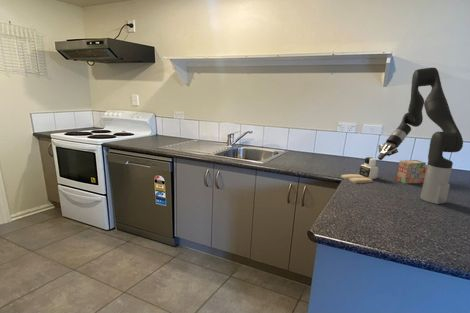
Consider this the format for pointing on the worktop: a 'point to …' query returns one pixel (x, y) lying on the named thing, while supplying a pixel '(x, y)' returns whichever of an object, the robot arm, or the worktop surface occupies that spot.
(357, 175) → the maple board
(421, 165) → the stack of blocks
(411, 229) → the worktop surface
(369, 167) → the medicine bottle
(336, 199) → the worktop surface
